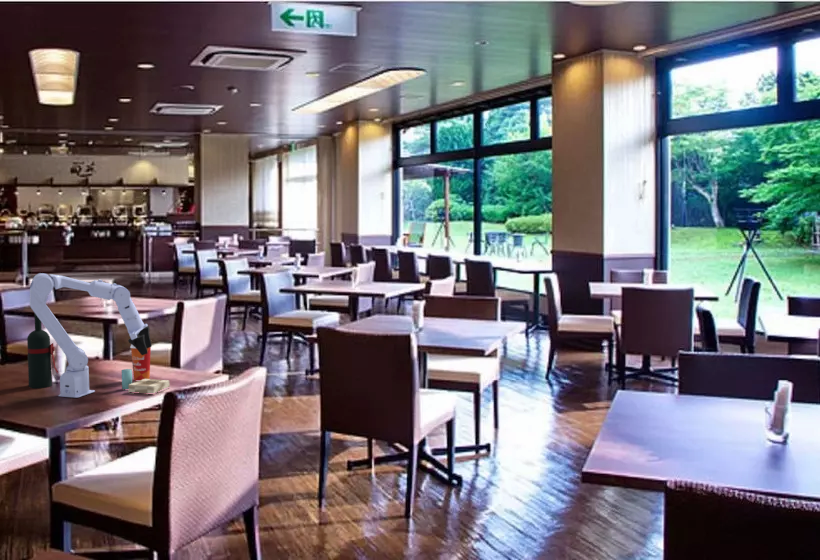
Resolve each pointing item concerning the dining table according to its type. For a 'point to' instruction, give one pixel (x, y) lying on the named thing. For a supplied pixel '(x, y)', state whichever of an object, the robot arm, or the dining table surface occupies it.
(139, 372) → the paper cup
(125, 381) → the peg
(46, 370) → the wine bottle
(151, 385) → the socket block
